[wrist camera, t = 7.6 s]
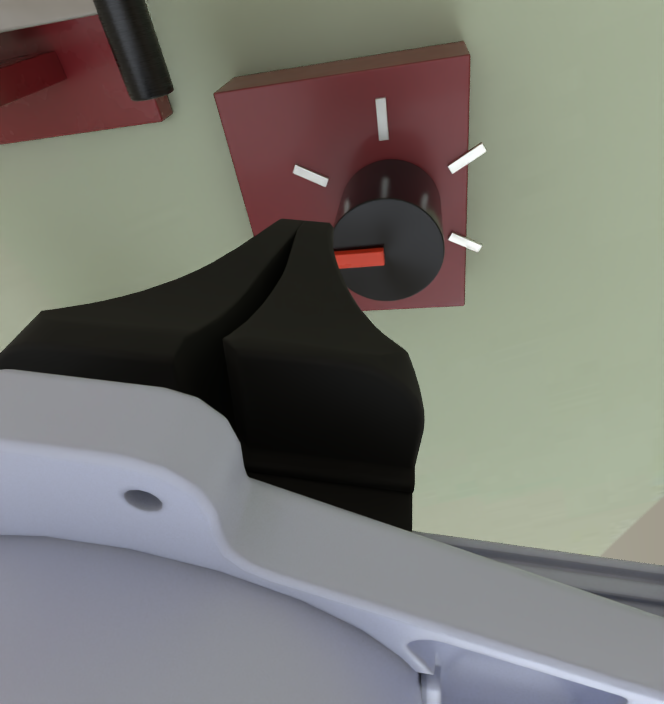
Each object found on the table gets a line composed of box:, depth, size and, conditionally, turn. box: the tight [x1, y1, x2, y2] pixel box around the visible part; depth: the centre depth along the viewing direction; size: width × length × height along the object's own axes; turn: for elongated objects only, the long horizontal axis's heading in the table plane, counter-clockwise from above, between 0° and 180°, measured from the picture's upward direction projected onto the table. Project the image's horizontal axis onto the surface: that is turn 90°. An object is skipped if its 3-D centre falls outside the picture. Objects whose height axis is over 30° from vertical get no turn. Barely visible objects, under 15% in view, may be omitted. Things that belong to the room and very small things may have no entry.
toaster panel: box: [214, 41, 487, 311], centre depth 20 cm, size 10×10×3 cm
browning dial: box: [333, 159, 445, 301], centre depth 18 cm, size 4×4×4 cm
